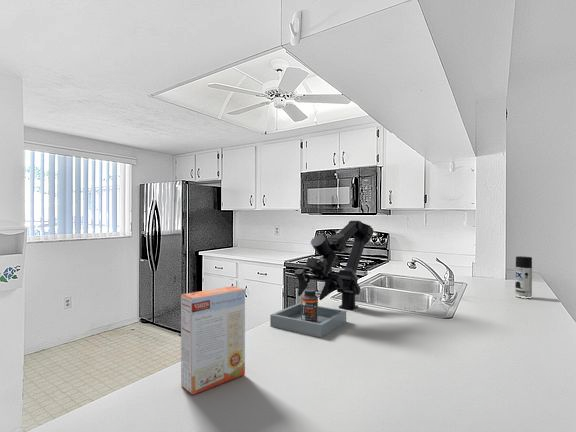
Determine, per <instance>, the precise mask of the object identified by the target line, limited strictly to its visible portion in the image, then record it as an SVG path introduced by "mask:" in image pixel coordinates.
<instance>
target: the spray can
mask: <svg viewBox="0 0 576 432" xmlns="http://www.w3.org/2000/svg"><path fill="white" fill-rule="evenodd" d="M514 287H515V290H514V291H515V292H514V293H515V294H516V295H519V296H525V297H531V296H533V294H532V293H533V258H532V256H515V286H514ZM515 294H514V295H515Z"/></svg>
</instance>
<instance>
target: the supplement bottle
mask: <svg viewBox="0 0 576 432" xmlns="http://www.w3.org/2000/svg"><path fill="white" fill-rule="evenodd" d="M301 303H302V304H301V320H305V321H310V322H315V323H316V322H317V319H318V306H319V298H318V296H317V294H316V289H313V288H306V289H305V290H304V292H303V295H301Z"/></svg>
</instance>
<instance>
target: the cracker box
mask: <svg viewBox="0 0 576 432" xmlns="http://www.w3.org/2000/svg"><path fill="white" fill-rule="evenodd" d="M245 301H246V289H245V288H240V287H237V286H235V285H229V286H224V287H219V288H212V289H207V290H202V291H201V290H200V291H194V292H188V293H182V294H181V295H180V386H181V387H182V388H183V389H184V390H186V391H187V392H188V393H189V394H190V395H191V396H194V395H196V394H199V393H201V392H203V391H207V390H210V389H213V388H215V387H216V386H219V385H222V384H225V383H227V382H229V381H232V380H235V379H237V378H240V377H242V376H244V375H246V308H245V307H246V302H245Z"/></svg>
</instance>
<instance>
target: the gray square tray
mask: <svg viewBox="0 0 576 432" xmlns="http://www.w3.org/2000/svg"><path fill="white" fill-rule="evenodd" d="M301 304H302V302H298V303H296V304H294V305H291V306H289V307H287V308H284V309H281V310H279V311H276V312H274V313H273V312H272V313H271V314H270V317H269V319H270V320H269V321H270V323H269V324H270V327H272V328H277V329H280V330H281V329H282V330H286V331H291V332H295V333H298V334H299V333H300V334H302V335H303V334H304V335H307V336H312V337H314V338H315V337H316V338H323V337H325V336H326V335H328V334H330V333H331V332H332V331H334V330H336V329H337V328H339V327H340V326H342V325H343V324H345V323H346V322H347V310H343V309H337V308H333V307H327V306H326V307H325V306H322V305H321V306H319V305H318V319H317V322H316V323H315V322H310V321H305V320H301Z"/></svg>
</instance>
